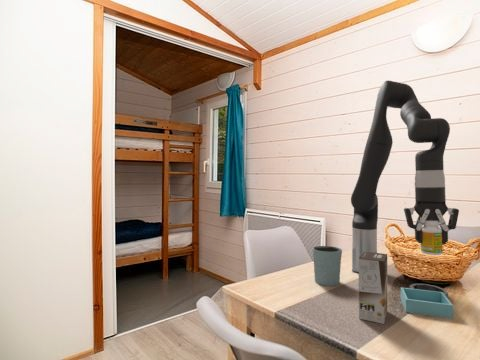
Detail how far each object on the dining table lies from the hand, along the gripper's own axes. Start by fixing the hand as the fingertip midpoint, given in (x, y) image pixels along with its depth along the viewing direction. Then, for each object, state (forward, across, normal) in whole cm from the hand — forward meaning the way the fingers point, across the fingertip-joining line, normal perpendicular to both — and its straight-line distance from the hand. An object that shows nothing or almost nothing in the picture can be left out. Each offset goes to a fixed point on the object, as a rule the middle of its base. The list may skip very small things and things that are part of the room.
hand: (431, 242), depth 88 cm
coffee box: (+18, -18, -13) cm, 28 cm away
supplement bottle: (+3, 0, 0) cm, 3 cm away
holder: (+18, 0, +7) cm, 19 cm away
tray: (+18, -3, -4) cm, 19 cm away
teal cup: (+17, -30, +11) cm, 37 cm away
